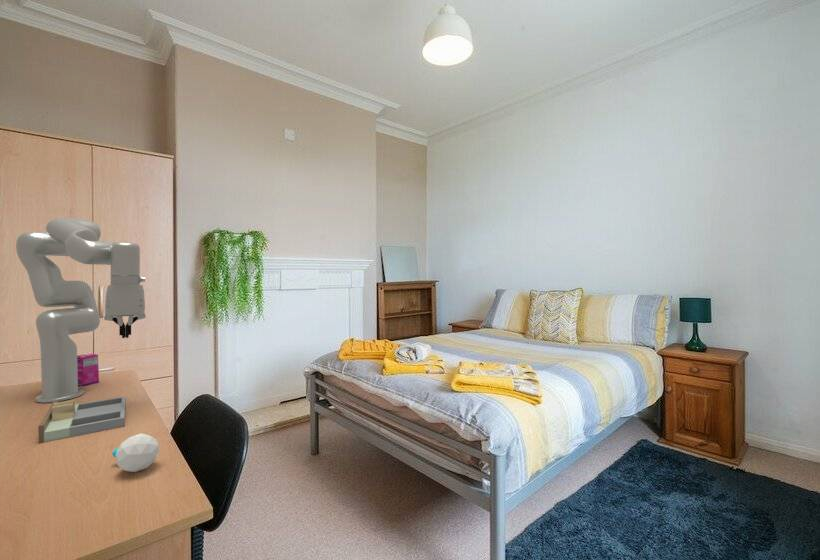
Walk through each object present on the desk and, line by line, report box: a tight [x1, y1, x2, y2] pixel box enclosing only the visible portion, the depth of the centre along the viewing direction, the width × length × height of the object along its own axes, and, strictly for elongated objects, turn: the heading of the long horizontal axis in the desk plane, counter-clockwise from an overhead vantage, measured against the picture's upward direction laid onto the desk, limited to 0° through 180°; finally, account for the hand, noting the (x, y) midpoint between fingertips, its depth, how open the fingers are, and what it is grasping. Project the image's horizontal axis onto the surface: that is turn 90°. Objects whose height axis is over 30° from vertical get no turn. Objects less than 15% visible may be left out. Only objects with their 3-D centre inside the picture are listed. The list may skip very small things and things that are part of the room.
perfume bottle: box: [111, 432, 160, 473], centre depth 87 cm, size 8×8×12 cm
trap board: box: [38, 396, 127, 444], centre depth 114 cm, size 23×18×4 cm
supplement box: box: [77, 352, 100, 387], centre depth 151 cm, size 6×6×12 cm
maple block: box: [52, 399, 76, 422], centre depth 110 cm, size 4×4×4 cm
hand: (125, 337), depth 122 cm, fingers closed
